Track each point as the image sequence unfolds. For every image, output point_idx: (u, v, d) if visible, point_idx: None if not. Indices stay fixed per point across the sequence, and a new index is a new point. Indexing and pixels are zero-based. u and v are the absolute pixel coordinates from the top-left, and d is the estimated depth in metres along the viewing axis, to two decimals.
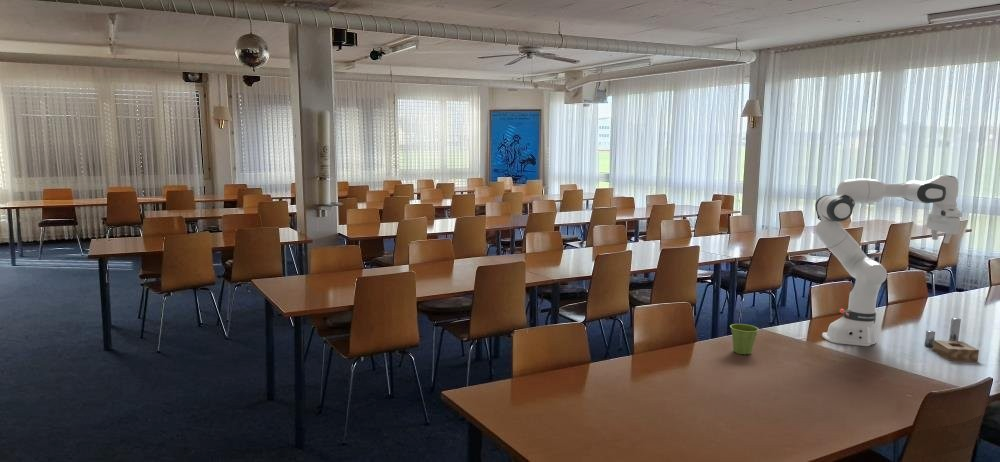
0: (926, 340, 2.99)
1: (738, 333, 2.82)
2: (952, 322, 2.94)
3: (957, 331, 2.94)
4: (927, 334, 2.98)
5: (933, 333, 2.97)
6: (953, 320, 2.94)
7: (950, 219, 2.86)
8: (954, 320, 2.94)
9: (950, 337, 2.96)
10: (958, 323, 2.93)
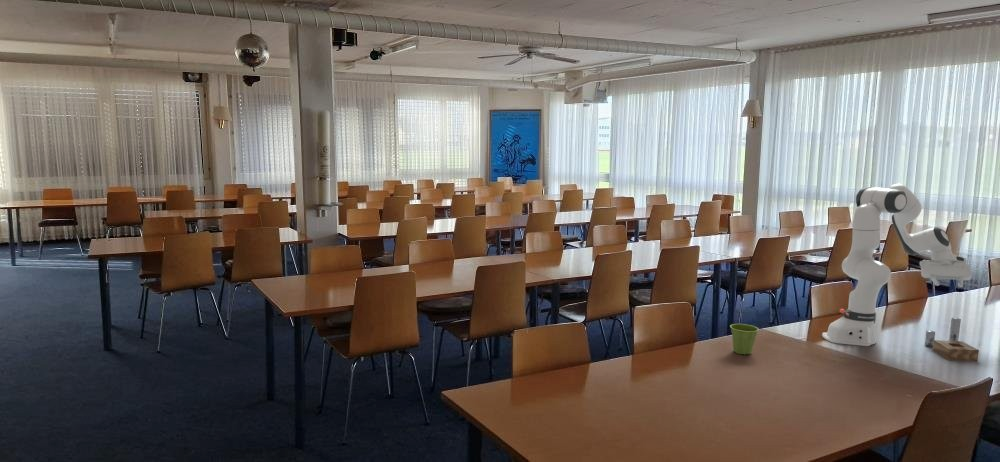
0: (926, 340, 2.99)
1: (738, 333, 2.82)
2: (952, 322, 2.94)
3: (957, 331, 2.94)
4: (927, 334, 2.98)
5: (933, 333, 2.97)
6: (953, 320, 2.94)
7: None
8: (954, 320, 2.94)
9: (950, 337, 2.96)
10: (958, 323, 2.93)
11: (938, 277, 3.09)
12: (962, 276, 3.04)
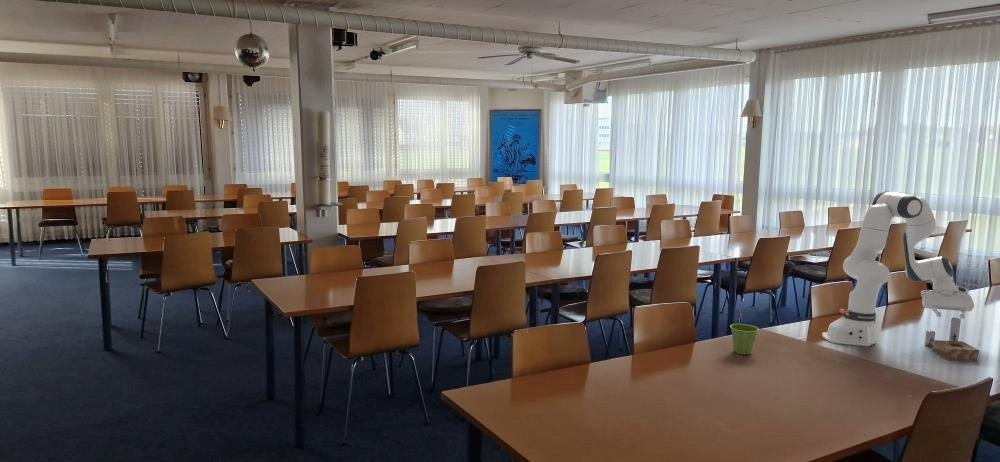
0: (926, 340, 2.99)
1: (738, 333, 2.82)
2: (952, 322, 2.94)
3: (957, 331, 2.94)
4: (927, 334, 2.98)
5: (933, 333, 2.97)
6: (953, 320, 2.94)
7: None
8: (954, 320, 2.94)
9: (950, 337, 2.96)
10: (958, 323, 2.93)
11: (939, 308, 3.05)
12: (964, 307, 3.01)
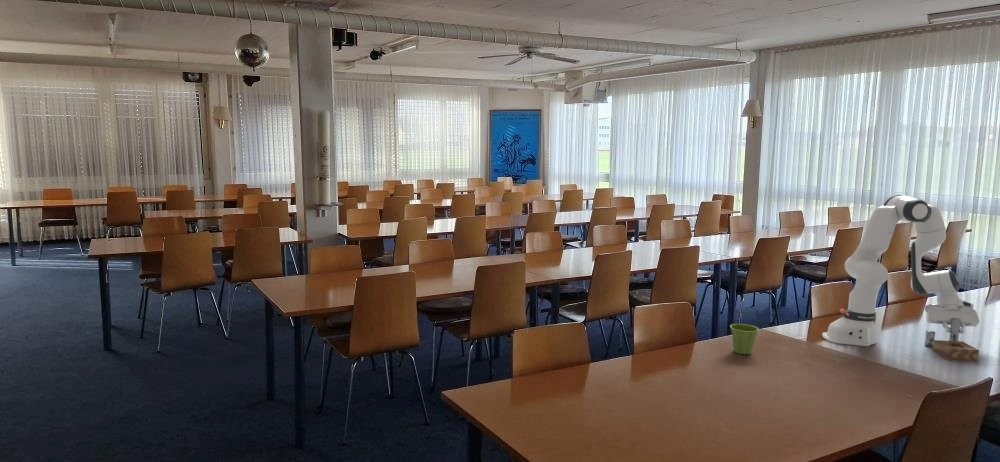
0: (926, 340, 2.99)
1: (738, 333, 2.82)
2: (952, 322, 2.94)
3: (957, 331, 2.94)
4: (927, 334, 2.98)
5: (933, 333, 2.97)
6: (953, 320, 2.94)
7: None
8: (954, 320, 2.94)
9: (950, 337, 2.96)
10: (958, 323, 2.93)
11: None
12: (969, 323, 2.95)
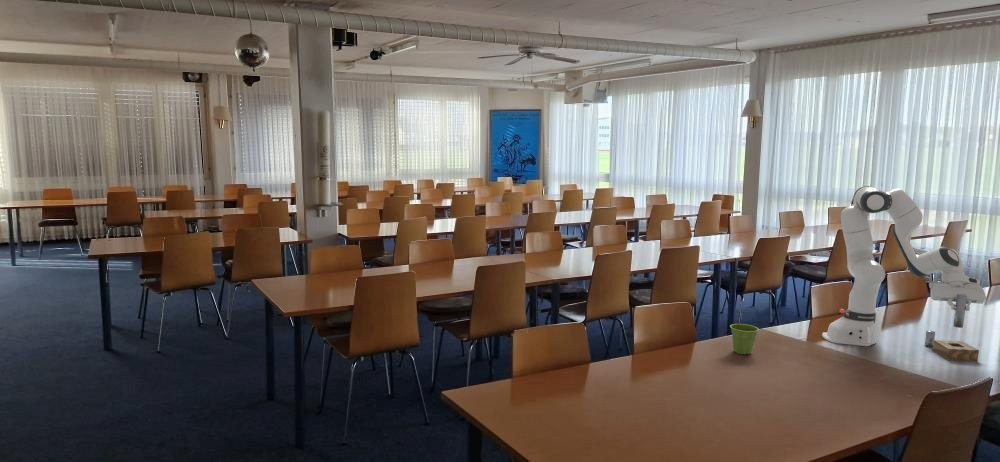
0: (926, 340, 2.99)
1: (738, 333, 2.82)
2: (958, 299, 2.82)
3: (963, 308, 2.81)
4: (927, 334, 2.98)
5: (933, 333, 2.97)
6: (959, 297, 2.82)
7: None
8: (960, 296, 2.81)
9: (955, 314, 2.83)
10: (964, 300, 2.81)
11: None
12: (975, 299, 2.83)
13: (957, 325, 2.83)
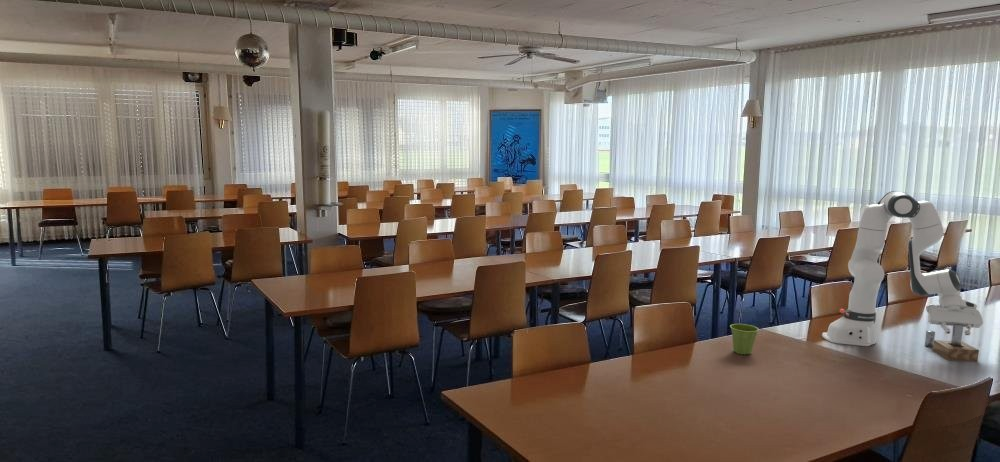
0: (926, 340, 2.99)
1: (738, 333, 2.82)
2: (954, 329, 2.84)
3: (959, 338, 2.83)
4: (927, 334, 2.98)
5: (933, 333, 2.97)
6: (955, 327, 2.84)
7: None
8: (956, 327, 2.83)
9: (952, 344, 2.85)
10: (960, 330, 2.83)
11: (946, 324, 2.89)
12: (972, 324, 2.84)
13: None
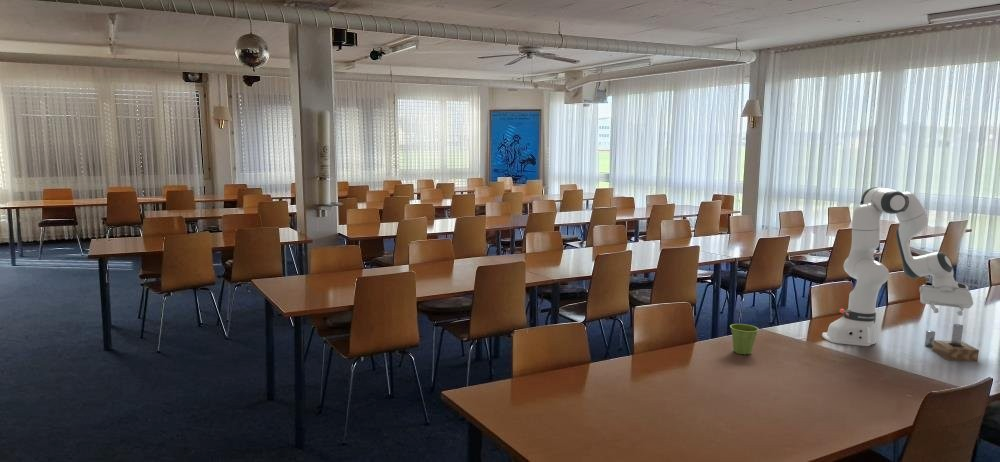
0: (926, 340, 2.99)
1: (738, 333, 2.82)
2: (954, 329, 2.84)
3: (959, 338, 2.83)
4: (927, 334, 2.98)
5: (933, 333, 2.97)
6: (955, 327, 2.84)
7: None
8: (956, 327, 2.83)
9: (952, 344, 2.85)
10: (960, 330, 2.83)
11: (937, 304, 2.99)
12: (962, 304, 2.95)
13: None
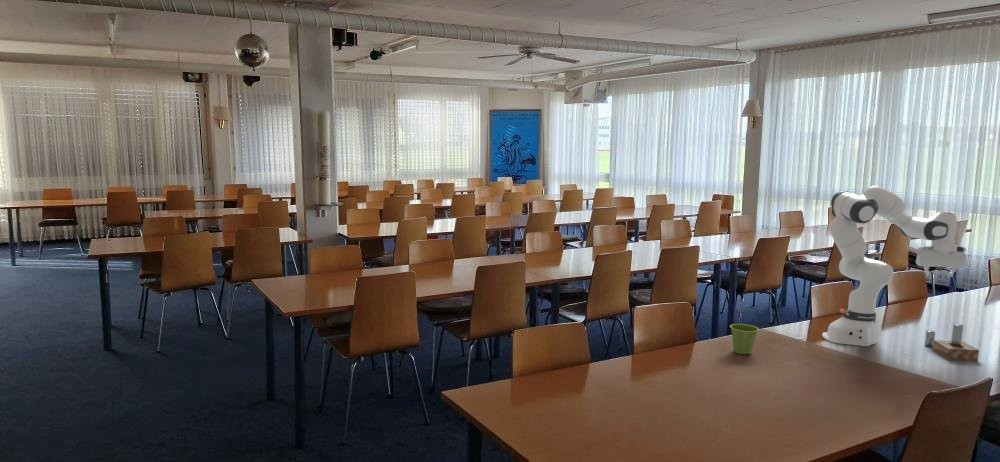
0: (926, 340, 2.99)
1: (738, 333, 2.82)
2: (954, 329, 2.84)
3: (959, 338, 2.83)
4: (927, 334, 2.98)
5: (933, 333, 2.97)
6: (955, 327, 2.84)
7: None
8: (956, 327, 2.83)
9: (952, 344, 2.85)
10: (960, 330, 2.83)
11: None
12: (955, 267, 2.99)
13: None
